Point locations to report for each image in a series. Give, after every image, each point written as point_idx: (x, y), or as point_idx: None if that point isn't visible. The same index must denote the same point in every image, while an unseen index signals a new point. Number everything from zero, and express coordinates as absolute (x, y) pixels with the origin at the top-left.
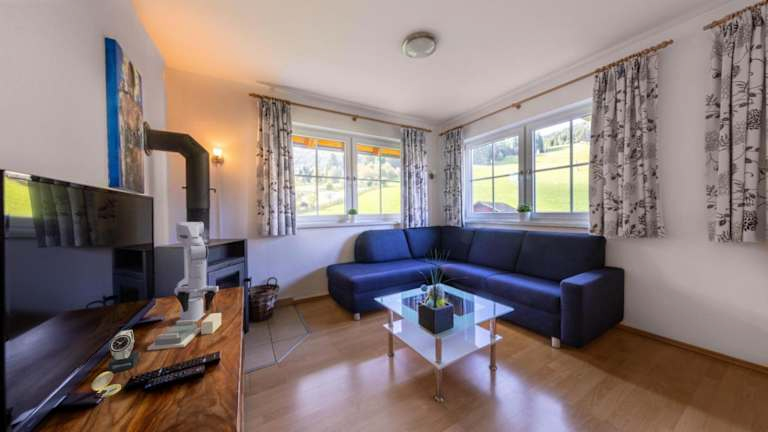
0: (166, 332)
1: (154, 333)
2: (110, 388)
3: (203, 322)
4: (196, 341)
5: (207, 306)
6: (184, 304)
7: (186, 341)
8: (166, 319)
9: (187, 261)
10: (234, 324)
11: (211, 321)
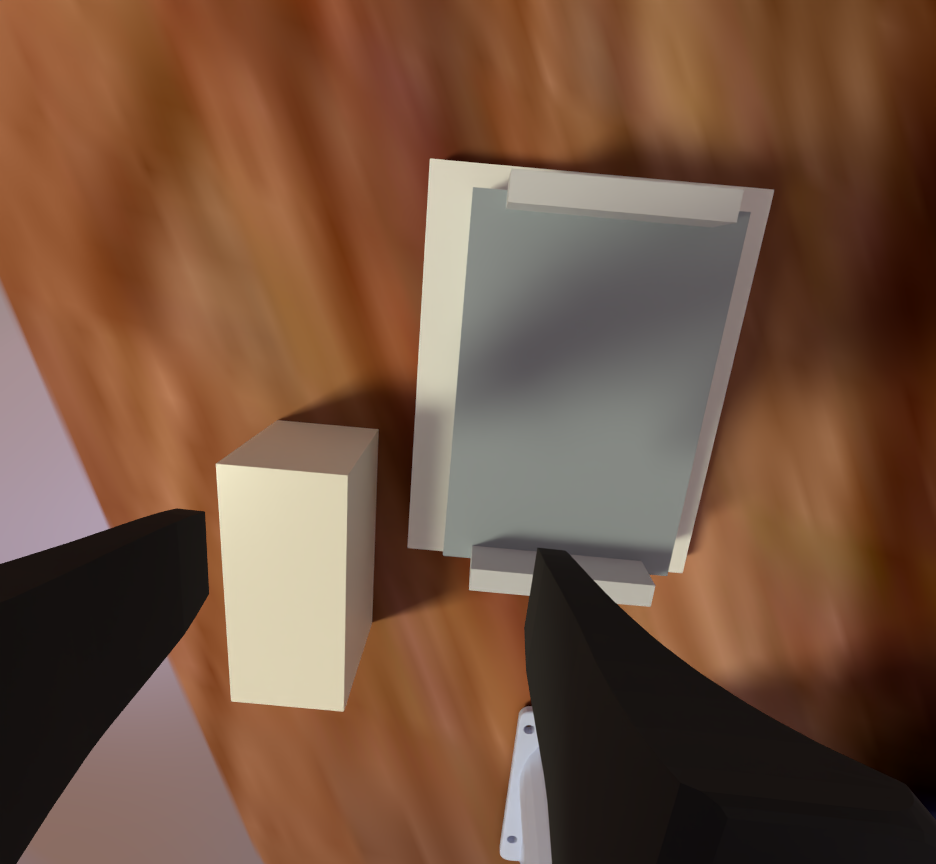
0: (684, 395)
1: (806, 567)
2: None
3: (323, 470)
4: (360, 271)
5: (102, 532)
6: (572, 632)
7: (430, 225)
8: None
9: None
10: None
11: (230, 465)
